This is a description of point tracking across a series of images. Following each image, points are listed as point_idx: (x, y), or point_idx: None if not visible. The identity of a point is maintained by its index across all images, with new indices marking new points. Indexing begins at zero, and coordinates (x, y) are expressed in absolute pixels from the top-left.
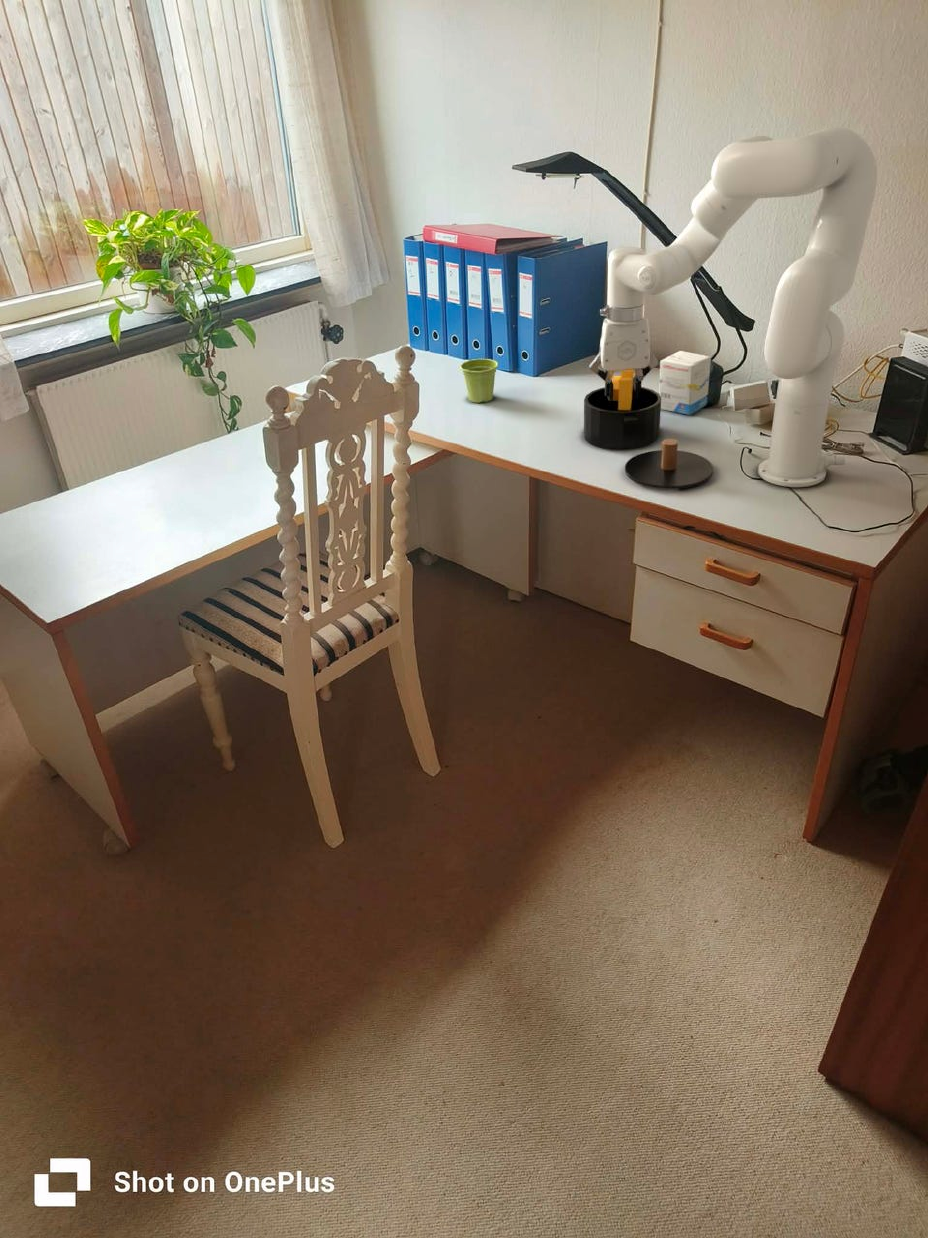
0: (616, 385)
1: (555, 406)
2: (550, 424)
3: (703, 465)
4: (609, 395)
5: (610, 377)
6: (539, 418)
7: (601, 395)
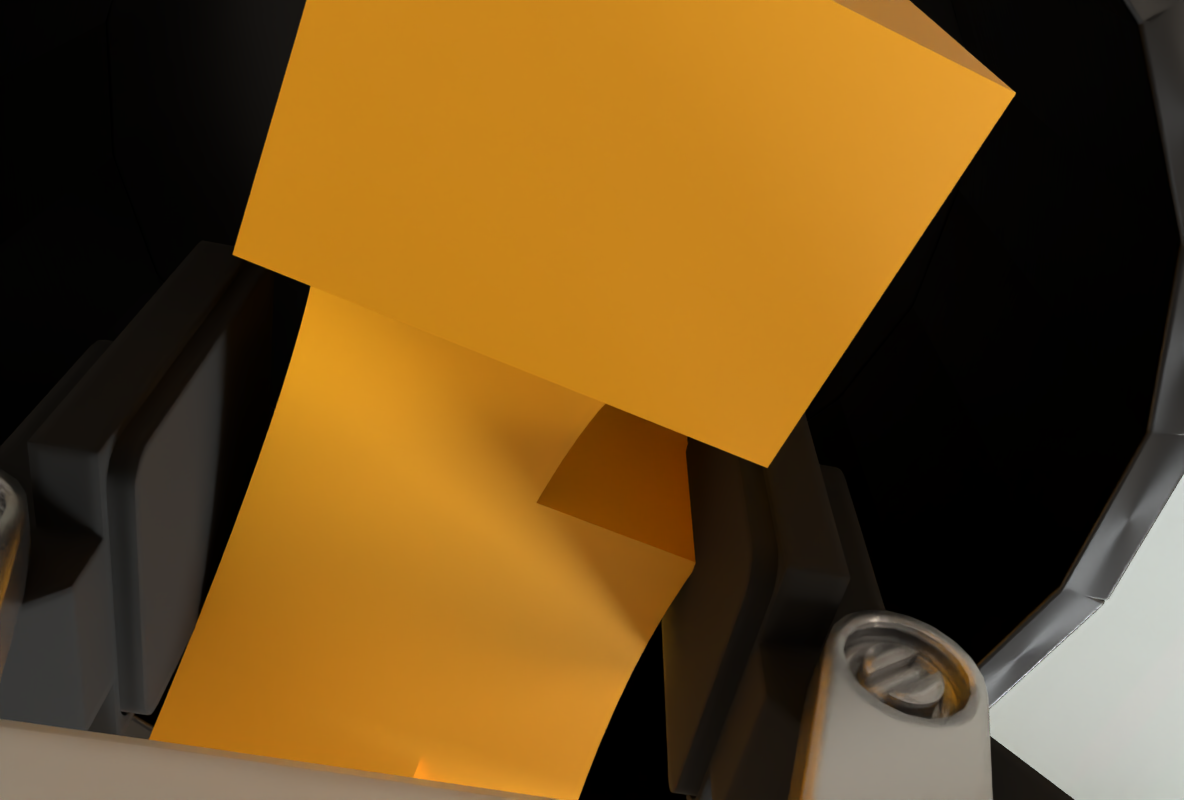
0: (541, 678)
1: None
2: (1074, 654)
3: None
4: None
5: (865, 731)
6: (1082, 779)
7: (650, 739)
